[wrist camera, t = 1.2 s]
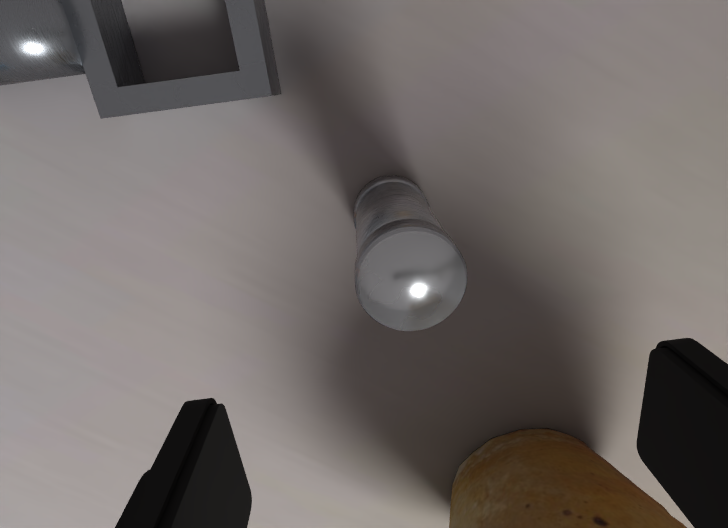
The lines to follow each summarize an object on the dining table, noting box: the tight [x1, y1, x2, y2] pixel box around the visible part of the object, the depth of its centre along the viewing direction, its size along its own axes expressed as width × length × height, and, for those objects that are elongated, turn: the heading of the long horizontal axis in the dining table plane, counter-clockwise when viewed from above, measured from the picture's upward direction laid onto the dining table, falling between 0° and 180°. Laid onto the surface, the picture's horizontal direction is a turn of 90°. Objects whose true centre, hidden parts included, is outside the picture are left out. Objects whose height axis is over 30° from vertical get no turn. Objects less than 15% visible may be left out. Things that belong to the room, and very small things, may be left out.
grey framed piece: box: [0, 0, 281, 118], centre depth 19 cm, size 15×8×5 cm, turn 97°
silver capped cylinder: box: [354, 175, 467, 331], centre depth 21 cm, size 4×4×10 cm
